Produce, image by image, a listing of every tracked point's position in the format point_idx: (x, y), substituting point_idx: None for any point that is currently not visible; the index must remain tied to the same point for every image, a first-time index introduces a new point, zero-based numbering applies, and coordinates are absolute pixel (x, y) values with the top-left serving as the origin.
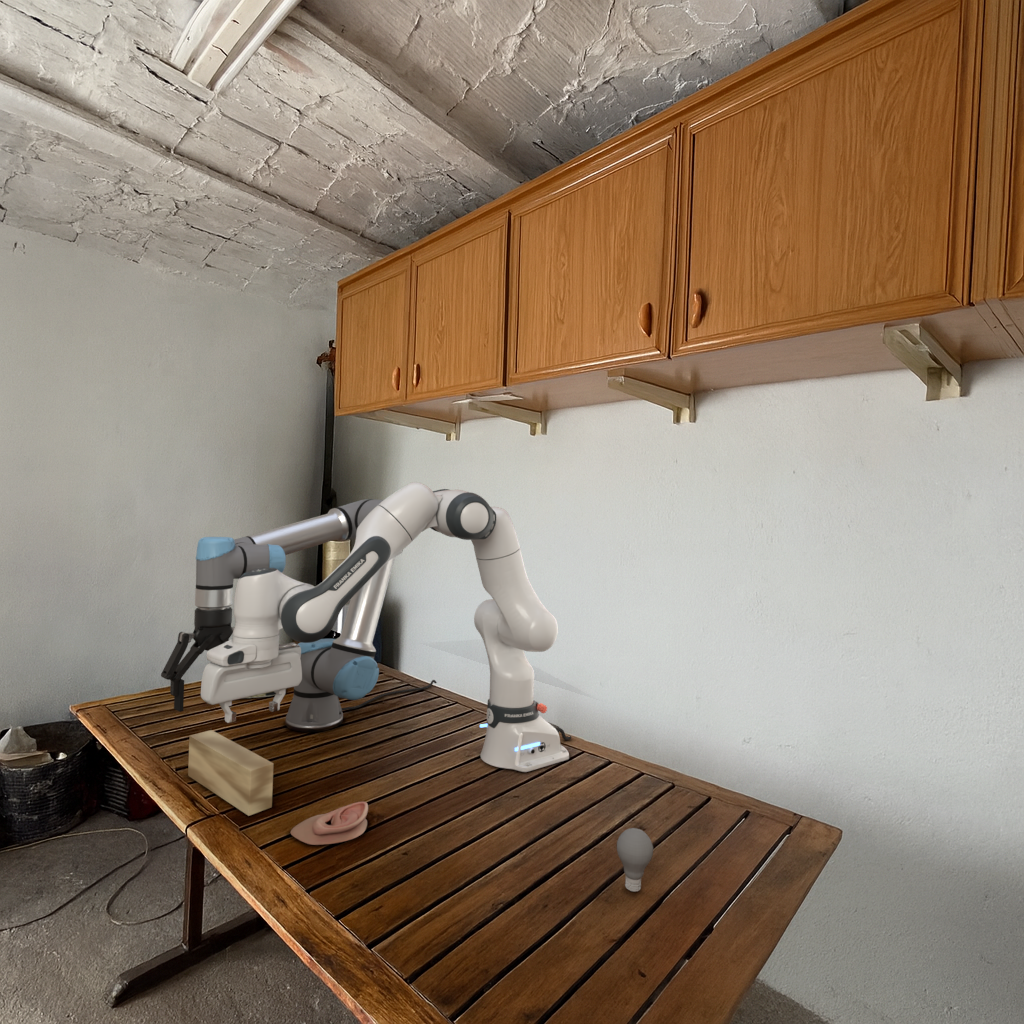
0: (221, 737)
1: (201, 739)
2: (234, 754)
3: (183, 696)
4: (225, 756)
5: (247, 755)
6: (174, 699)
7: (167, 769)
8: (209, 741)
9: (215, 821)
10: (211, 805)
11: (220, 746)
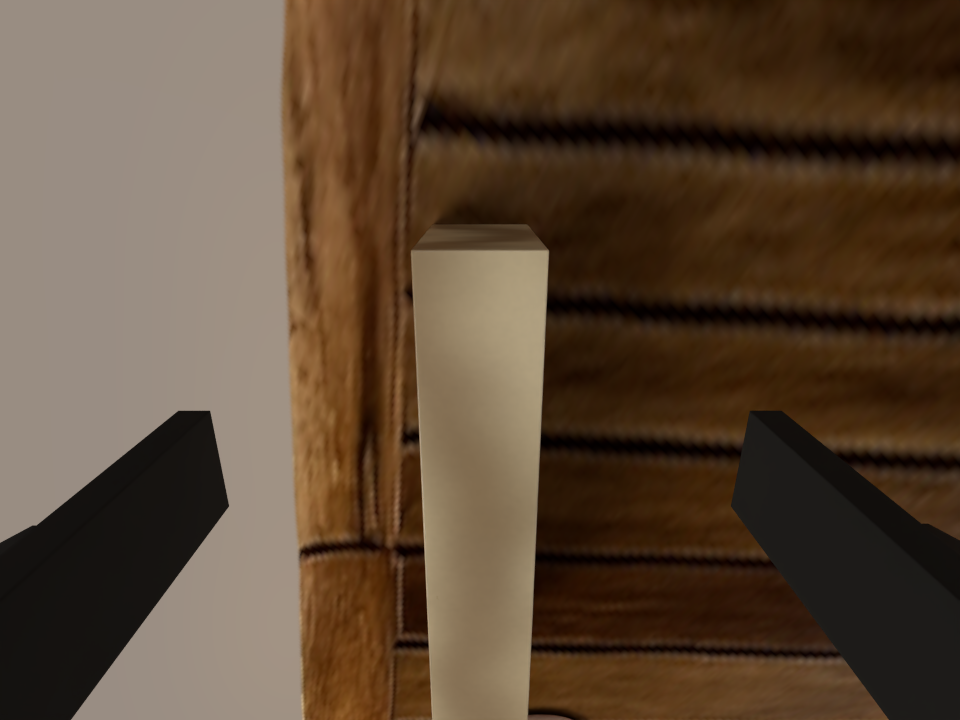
0: (526, 397)
1: (436, 354)
2: (463, 605)
3: (156, 600)
4: (427, 598)
5: (497, 642)
6: (126, 459)
7: (394, 85)
8: (454, 407)
9: (365, 577)
10: (396, 494)
11: (463, 496)
